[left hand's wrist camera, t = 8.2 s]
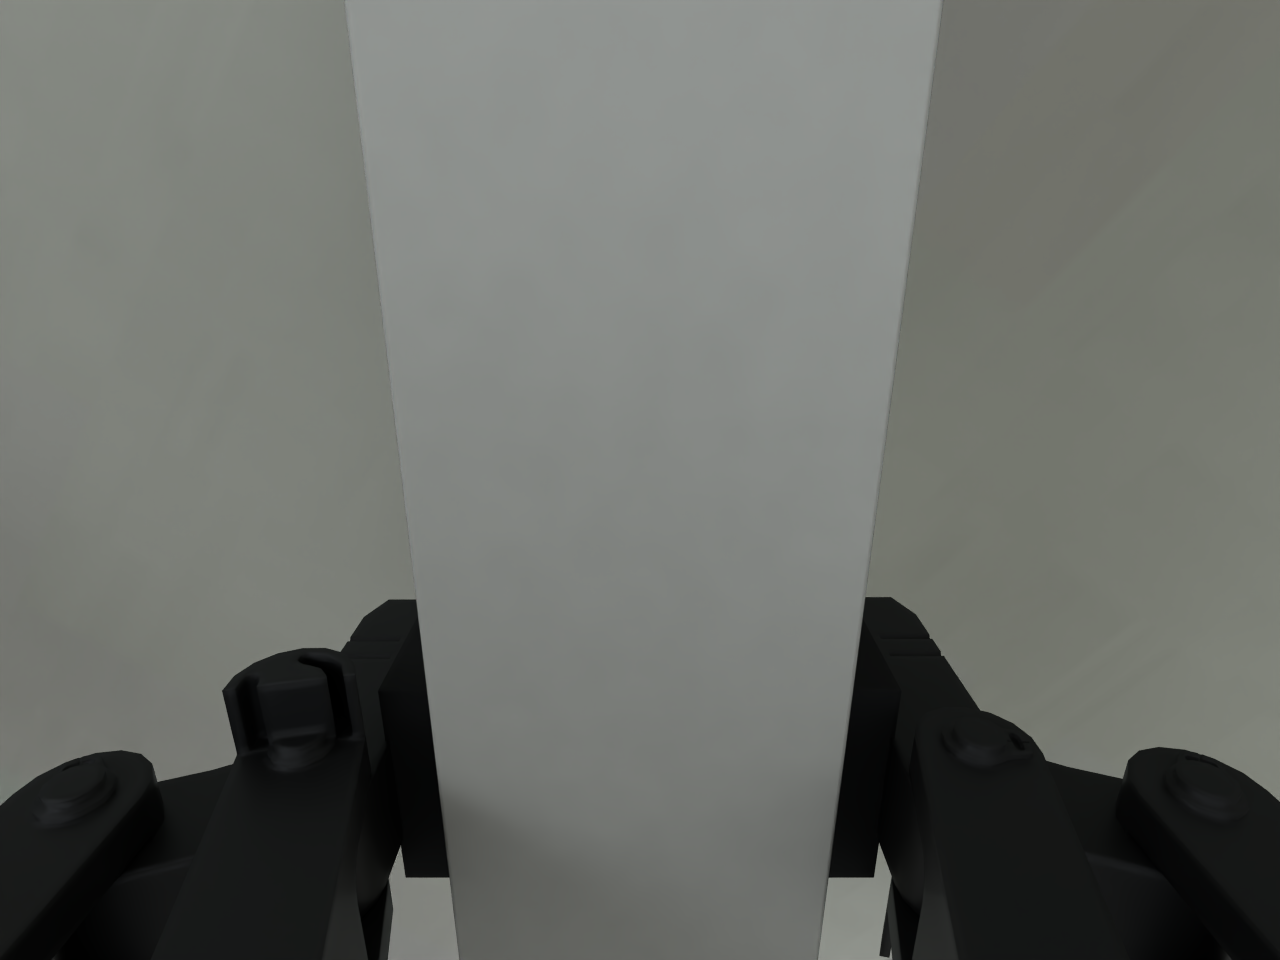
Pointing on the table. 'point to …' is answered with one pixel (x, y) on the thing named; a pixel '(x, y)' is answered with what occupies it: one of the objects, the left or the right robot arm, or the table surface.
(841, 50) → the bar
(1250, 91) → the table surface
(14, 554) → the table surface
